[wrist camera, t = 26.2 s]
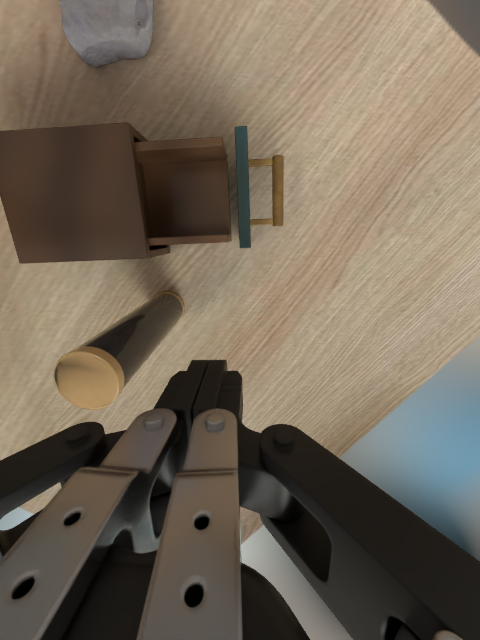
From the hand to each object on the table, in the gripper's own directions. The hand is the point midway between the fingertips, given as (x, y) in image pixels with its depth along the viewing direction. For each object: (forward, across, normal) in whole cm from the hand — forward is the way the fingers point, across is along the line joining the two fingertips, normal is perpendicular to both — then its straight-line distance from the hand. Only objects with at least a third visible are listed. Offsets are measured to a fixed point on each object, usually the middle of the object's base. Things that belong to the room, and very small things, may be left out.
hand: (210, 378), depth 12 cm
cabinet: (+27, +17, -10) cm, 34 cm away
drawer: (+27, +3, -10) cm, 29 cm away
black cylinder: (+27, +11, +4) cm, 30 cm away
